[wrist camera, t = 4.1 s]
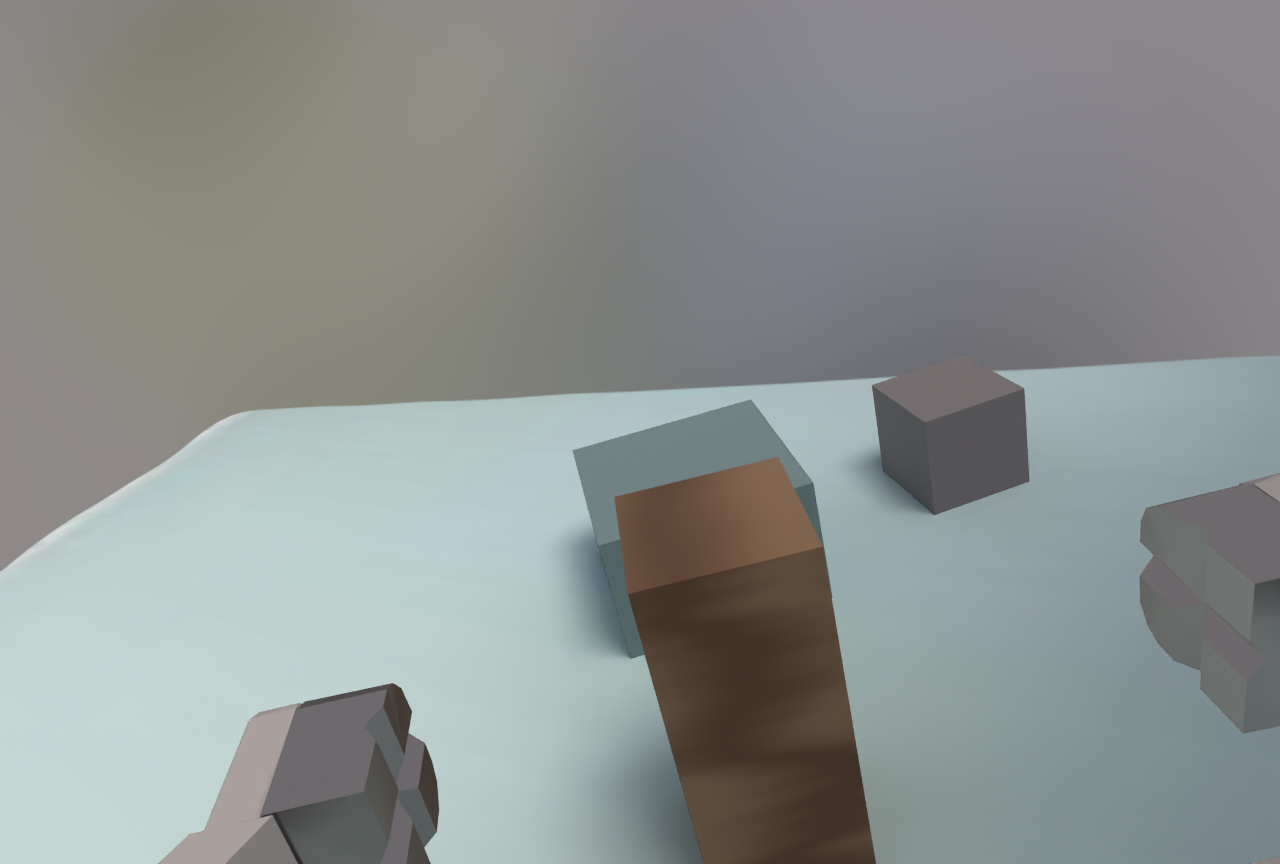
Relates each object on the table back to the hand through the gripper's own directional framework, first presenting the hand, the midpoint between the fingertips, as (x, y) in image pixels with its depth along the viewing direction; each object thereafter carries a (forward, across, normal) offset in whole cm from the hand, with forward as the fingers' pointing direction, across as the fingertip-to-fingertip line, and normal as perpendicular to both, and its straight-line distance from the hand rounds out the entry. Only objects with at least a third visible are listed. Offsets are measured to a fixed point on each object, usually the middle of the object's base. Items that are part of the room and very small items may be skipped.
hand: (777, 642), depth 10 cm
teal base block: (+29, 0, +19) cm, 35 cm away
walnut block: (+14, 0, +19) cm, 24 cm away
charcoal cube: (+32, -14, +19) cm, 40 cm away
